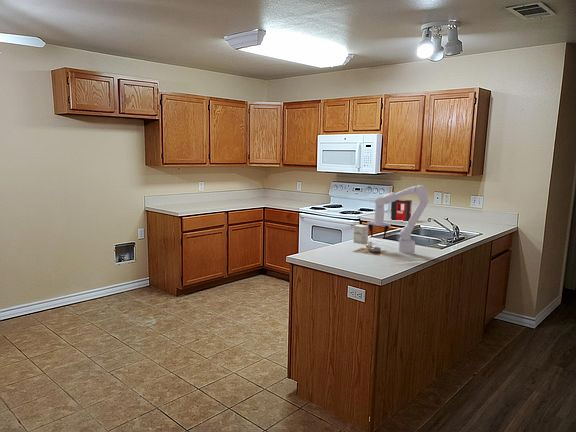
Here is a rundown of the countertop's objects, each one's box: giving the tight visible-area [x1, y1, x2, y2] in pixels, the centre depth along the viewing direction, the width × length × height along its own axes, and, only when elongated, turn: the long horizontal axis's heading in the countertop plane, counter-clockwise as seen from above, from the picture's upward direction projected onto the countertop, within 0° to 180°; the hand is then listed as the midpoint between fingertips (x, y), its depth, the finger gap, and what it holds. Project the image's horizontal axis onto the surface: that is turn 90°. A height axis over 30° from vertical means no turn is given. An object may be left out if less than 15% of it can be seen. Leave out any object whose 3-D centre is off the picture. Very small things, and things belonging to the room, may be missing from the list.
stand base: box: [352, 247, 389, 257], centre depth 274 cm, size 18×15×1 cm
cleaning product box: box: [390, 199, 413, 221], centre depth 406 cm, size 16×9×20 cm, turn 65°
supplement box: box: [353, 224, 369, 245], centre depth 305 cm, size 7×7×13 cm
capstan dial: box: [365, 240, 382, 253], centre depth 275 cm, size 14×7×5 cm, turn 17°
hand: (378, 237), depth 277 cm, fingers open, 7 cm apart
